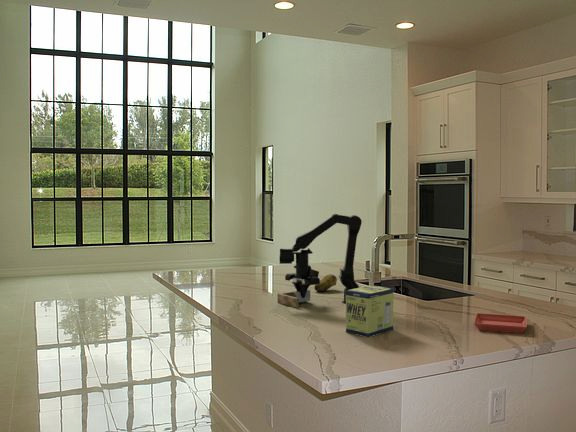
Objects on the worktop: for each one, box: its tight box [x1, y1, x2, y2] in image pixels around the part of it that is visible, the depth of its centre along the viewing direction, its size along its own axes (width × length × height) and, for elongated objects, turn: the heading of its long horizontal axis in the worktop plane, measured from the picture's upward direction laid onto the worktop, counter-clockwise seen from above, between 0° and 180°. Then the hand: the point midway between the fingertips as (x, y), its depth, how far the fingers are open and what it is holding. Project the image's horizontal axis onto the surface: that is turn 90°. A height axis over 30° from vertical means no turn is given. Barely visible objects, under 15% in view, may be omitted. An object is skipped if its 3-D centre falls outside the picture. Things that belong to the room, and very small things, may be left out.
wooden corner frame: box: [277, 290, 300, 308], centre depth 262 cm, size 14×15×4 cm
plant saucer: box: [473, 312, 528, 334], centre depth 215 cm, size 18×18×3 cm
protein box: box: [345, 284, 394, 338], centre depth 211 cm, size 10×16×16 cm
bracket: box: [294, 288, 311, 304], centre depth 263 cm, size 8×6×5 cm
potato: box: [313, 274, 338, 293], centre depth 291 cm, size 8×13×8 cm, turn 109°
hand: (302, 297), depth 261 cm, fingers closed on bracket
